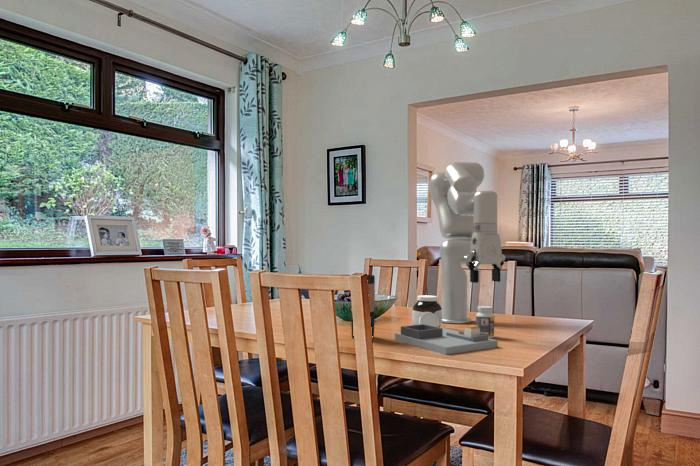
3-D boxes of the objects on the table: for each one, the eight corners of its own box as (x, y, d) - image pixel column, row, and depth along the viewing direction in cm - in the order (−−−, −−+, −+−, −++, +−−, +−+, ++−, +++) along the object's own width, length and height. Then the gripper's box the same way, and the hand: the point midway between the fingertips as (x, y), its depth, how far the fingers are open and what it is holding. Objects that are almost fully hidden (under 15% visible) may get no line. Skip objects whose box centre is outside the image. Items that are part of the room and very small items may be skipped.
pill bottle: (494, 339, 167) (494, 308, 167) (476, 338, 169) (476, 307, 169) (493, 336, 173) (493, 305, 173) (475, 335, 174) (475, 305, 174)
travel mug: (379, 337, 169) (379, 275, 169) (362, 340, 164) (362, 276, 164) (362, 334, 175) (363, 274, 175) (346, 337, 169) (346, 275, 170)
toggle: (463, 337, 158) (463, 325, 158) (472, 336, 160) (472, 324, 160) (471, 339, 155) (471, 327, 155) (479, 338, 157) (479, 326, 157)
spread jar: (430, 326, 191) (430, 294, 191) (452, 331, 181) (452, 297, 182) (404, 329, 185) (404, 296, 185) (425, 334, 175) (426, 299, 175)
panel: (395, 339, 166) (395, 325, 166) (443, 333, 176) (443, 320, 176) (445, 354, 145) (445, 338, 145) (497, 347, 156) (497, 331, 156)
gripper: (474, 228, 163) (473, 283, 163) (513, 229, 172) (512, 281, 172) (457, 229, 170) (457, 282, 170) (495, 229, 179) (495, 280, 178)
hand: (485, 281), depth 171 cm, fingers open, 9 cm apart
